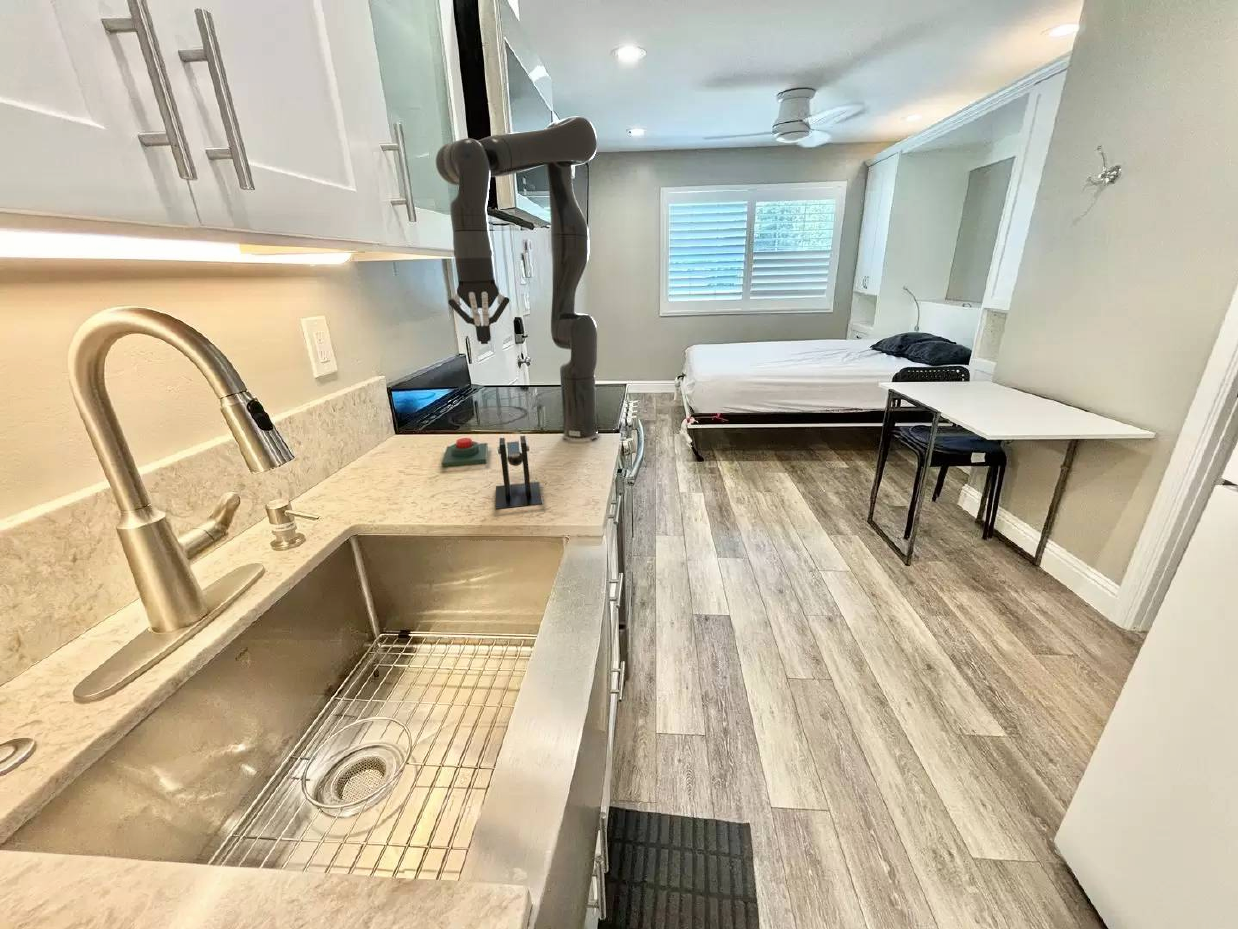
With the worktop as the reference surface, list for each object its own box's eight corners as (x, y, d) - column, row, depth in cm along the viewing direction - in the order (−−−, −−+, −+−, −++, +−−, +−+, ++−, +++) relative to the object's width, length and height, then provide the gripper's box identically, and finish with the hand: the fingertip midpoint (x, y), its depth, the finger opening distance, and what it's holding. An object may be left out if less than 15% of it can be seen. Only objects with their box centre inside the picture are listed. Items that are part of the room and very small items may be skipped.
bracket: (496, 491, 104) (489, 433, 99) (539, 486, 106) (534, 429, 101) (496, 514, 94) (487, 451, 89) (543, 509, 96) (537, 447, 91)
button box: (448, 454, 126) (446, 439, 124) (488, 450, 128) (486, 436, 126) (443, 471, 115) (440, 455, 113) (486, 467, 117) (484, 451, 115)
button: (457, 445, 121) (456, 438, 121) (473, 443, 122) (472, 437, 121) (456, 450, 118) (455, 443, 117) (472, 448, 119) (471, 441, 118)
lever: (508, 467, 108) (507, 452, 108) (524, 466, 108) (522, 451, 109) (505, 457, 94) (503, 439, 94) (523, 455, 95) (521, 438, 95)
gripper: (507, 256, 104) (515, 339, 110) (442, 257, 101) (454, 342, 108) (507, 255, 97) (516, 344, 104) (437, 256, 95) (451, 347, 101)
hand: (484, 343), depth 106 cm, fingers closed
